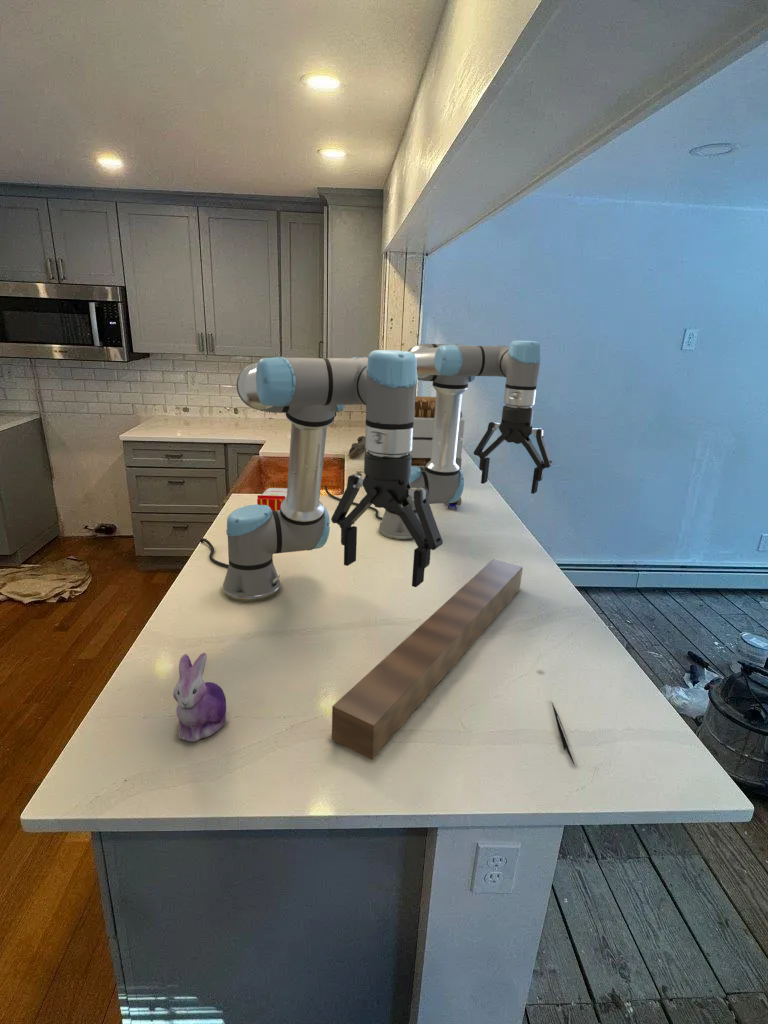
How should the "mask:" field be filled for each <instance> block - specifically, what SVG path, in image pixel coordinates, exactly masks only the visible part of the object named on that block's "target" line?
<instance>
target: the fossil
mask: <svg viewBox="0 0 768 1024" xmlns="http://www.w3.org/2000/svg"><path fill="white" fill-rule="evenodd" d="M367 451H368V450H367V449H366V448H365V435H361V436H358V437H357V442H353V443H352V444H351V447H350V448H349V450H348V457H349V459H353V460H354V459H356V458H358V457H360V456H361V455H363V454H365V453H366V452H367Z"/></svg>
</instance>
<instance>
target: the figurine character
mask: <svg viewBox="0 0 768 1024" xmlns="http://www.w3.org/2000/svg"><path fill="white" fill-rule="evenodd" d="M461 505H462V496H461V497H460V498H459V500H457V501H456V502H454V503H447V504H445V506H447V509H448V510H451V508H453V507H454V510H457V509H458V507H459V506H461ZM450 507H451V508H450Z"/></svg>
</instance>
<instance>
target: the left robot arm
mask: <svg viewBox="0 0 768 1024" xmlns="http://www.w3.org/2000/svg"><path fill="white" fill-rule="evenodd" d="M407 351H408V350H405V351H404V350H396V349H375V350H372V351H371V352H369V354H368V355H367V356H359V355H358V356H354V357H321V358H320V357H318V358H317V357H284V356H274V357H263V358H260V359H259V360H258V362H255V363H250V364H249V365H247V366H245V367H244V368H243V369H242V370H240V372H239V373H238V376H237V379H236V393H237V395H238V396H239V398H240V400H241V401H242V403H244V404H245V405H246V406H247V407H249V408H251V409H254V410H256V411H261V412H264V413H265V412H266V413H272V414H274V413H275V414H285V418H286V419H287V420H288V421H289V422H290V423H291V426H290V427H291V428H290V441H289V457H288V458H289V459H288V474H287V487H286V488H287V498H286V499H284V500H283V501H282V503H281V507H280V510H277V511H272V510H271V508H270V507H269V506H267V505H259V504H257V503H256V504H250V505H244V506H241V507H239V508H236V509H235V510H233V511H232V512H230V513H229V515H228V516H227V517H226V518H227V519H226V531H225V532H226V535H227V552H228V563H225V562H221V561H218V560H216V559H215V558H213V555H214V553H215V547H214V546H213V544H212V543H211V542H210V541H209V540H208V539H206V538H201V539H200V540H199V543H203V542H204V543H206V544H207V545H208V547H209V548H210V552H209V555H208V559H209V560H210V561H211V562H212V563H214V564H216V565H217V566H221V567H224V568H226V569H227V570H226V574H225V576H224V580H223V584H222V589H223V594H224V596H225V597H226V598H228V599H229V600H231V601H235V602H240V603H258V602H262V601H266V600H268V599H271V598H273V597H275V596H277V594H278V593H279V592H280V590H281V581H280V579H281V577H280V574H279V575H278V571H277V569H276V567H275V565H274V561H273V560H274V558H273V555H275V554H284V553H295V552H305V551H307V552H308V551H313V550H317V549H321V548H323V547H325V545H326V544H327V542H328V539H329V535H330V528H331V527H330V523H331V522H332V524H337V525H338V526H339V528H340V544H341V546H343V566H347V567H348V566H350V565H351V564H353V563H355V562H356V561H357V542H358V539H357V537H358V526H355V524H356V522H357V521H358V520H359V519H360V518H361V517H362V515H363V514H364V513H365V512H367V510H369V507H372V505H373V506H374V508H379V509H381V508H383V509H384V510H385V509H386V510H390V511H391V510H394V511H395V513H396V515H398V516H400V518H401V519H402V521H403V523H404V524H405V526H406V528H407V529H408V531H409V533H410V534H411V536H412V538H413V539H412V540H413V541H414V543H415V544H416V546H417V547H416V548H415V549H414V550H413V561H412V562H413V563H412V576H411V578H412V579H411V587H413V588H417V587H419V586H420V585H421V584H422V583H424V579H425V569H426V568H427V567H429V566H430V563H431V551H435V550H436V549H438V548H440V547H441V546H442V545H443V544H444V541H443V538H442V535H441V533H440V530H439V527H438V524H437V521H436V519H435V516H434V512H433V511H432V508H431V504H429V502H428V489H427V488H426V487H421V488H411V486H410V483H409V480H410V475H411V462H412V456H411V455H410V453H409V452H411V451H412V447H413V424H414V411H415V397H417V384H418V381H419V380H418V378H417V377H418V376H417V358H416V356H415V355H414V354H413V353H411V352H407ZM349 405H350V406H351V405H353V406H354V405H357V406H358V405H364V406H365V435H364V437H365V448H366V449H367V450H366V453H365V452H364V459H363V462H364V463H363V473H364V476H363V475H362V474H361V472H356V473H353V474H351V475H349V476H348V477H347V482H346V488H345V490H344V491H343V494H342V496H341V498H340V499H341V500H340V501H339V502H338V504H337V505H336V508H335V510H334V512H333V514H332V516H331V518H330V514H329V511H328V510H327V508H326V507H324V504H323V502H321V500H320V498H321V489H322V488H321V487H322V478H323V469H324V459H325V451H326V439H327V430H328V427H329V426H331V425H332V424H333V423H334V421H335V414H336V413H340V412H342V411H344V408H345V407H346V406H349ZM362 487H363V489H364V491H365V492H366V493H365V495H364V497H363V498H361V500H360V501H359V504H358V505H355V507H354V508H353V509H352V510H351V511H350V509H351V507H352V505H353V504H352V503H353V502H354V501H355V499H356V497H357V495H358V493H359V491H360V489H361V488H362ZM409 495H410V496H411V497H412V499H411V500H412V501H414V504H415V508H416V511H417V514H418V517H419V519H418V518H417V516H416V515H415V513H414V511H413V510H412V505H411V503H410V502H409V500H408V497H409ZM401 505H403V508H402V507H401ZM349 511H350V512H349ZM348 512H349V513H348ZM330 520H331V522H330ZM419 520H420V521H419ZM420 522H421V523H420Z"/></svg>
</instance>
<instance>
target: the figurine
mask: <svg viewBox="0 0 768 1024" xmlns="http://www.w3.org/2000/svg"><path fill="white" fill-rule="evenodd" d="M207 660H208V655H207V653H206V652H201V653H200V654H199V656H198V657H197V658H196V659H195V661H194V662H193V663H192V660H191V658H190V656H189V655H188V654H187V653H185V654H183V655H182V656H181V657H180V660H179V664H178V674H179V675H178V677H179V678H178V680H177V682H176V684H175V686H174V688H173V692H172V693H173V694H172V696H173V699H174V701H176V702H177V706H176V711H175V712H176V718H177V720H178V722H179V726H180V728H179V731H178V732H179V733H178V736H179V739H180V740H183V741H187V742H191V743H192V742H198V741H199V740H201V739H204V738H206V739H207V738H209V737H211V736H212V735H214V734H215V733H217V732H218V731H219V730H220V729H221V728H223V726H225V722H226V713H227V698H226V695H225V692H224V690H223V688H222V687H221V686H220V685H219V684H217V683H215V682H213V681H212V682H211V681H207V682H205V680H204V678H203V676H204V672H205V668H206V664H207Z"/></svg>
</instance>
